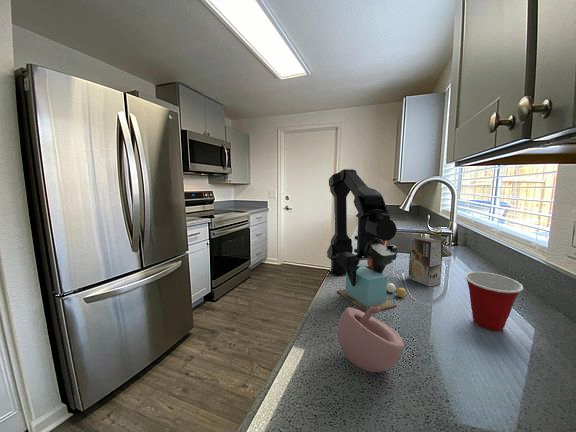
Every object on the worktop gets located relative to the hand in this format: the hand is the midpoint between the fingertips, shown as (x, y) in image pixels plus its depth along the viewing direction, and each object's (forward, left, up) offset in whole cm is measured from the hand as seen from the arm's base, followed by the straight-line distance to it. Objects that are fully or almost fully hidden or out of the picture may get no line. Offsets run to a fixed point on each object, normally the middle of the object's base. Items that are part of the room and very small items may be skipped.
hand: (365, 283), depth 72 cm
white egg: (-1, +12, -5) cm, 13 cm away
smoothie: (-21, +25, -5) cm, 32 cm away
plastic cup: (+23, +19, -5) cm, 30 cm away
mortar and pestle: (+21, -18, -5) cm, 29 cm away
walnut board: (0, 0, -5) cm, 5 cm away
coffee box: (-3, +31, -5) cm, 31 cm away
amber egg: (+3, +12, -5) cm, 13 cm away
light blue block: (0, 0, -4) cm, 5 cm away
